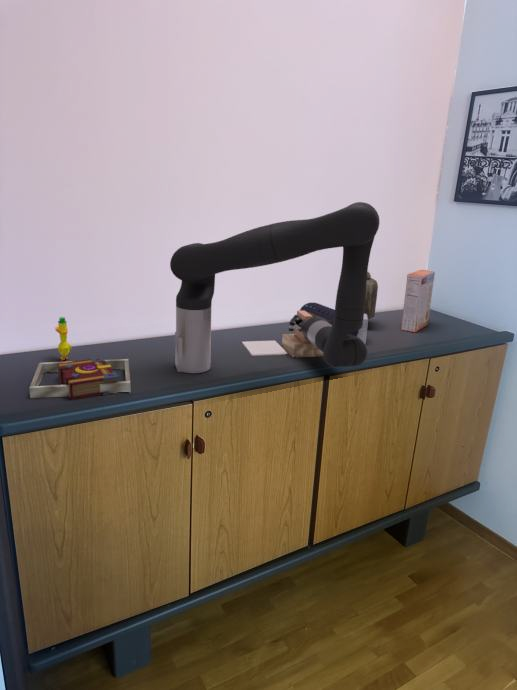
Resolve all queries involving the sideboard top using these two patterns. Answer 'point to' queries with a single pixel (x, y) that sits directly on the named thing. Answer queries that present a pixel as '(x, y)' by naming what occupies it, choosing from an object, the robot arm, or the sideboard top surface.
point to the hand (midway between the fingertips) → (299, 318)
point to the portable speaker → (322, 313)
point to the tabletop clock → (370, 296)
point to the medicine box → (363, 329)
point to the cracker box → (417, 300)
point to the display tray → (63, 390)
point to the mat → (264, 348)
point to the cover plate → (298, 334)
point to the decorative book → (86, 376)
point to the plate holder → (299, 347)
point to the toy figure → (63, 338)
